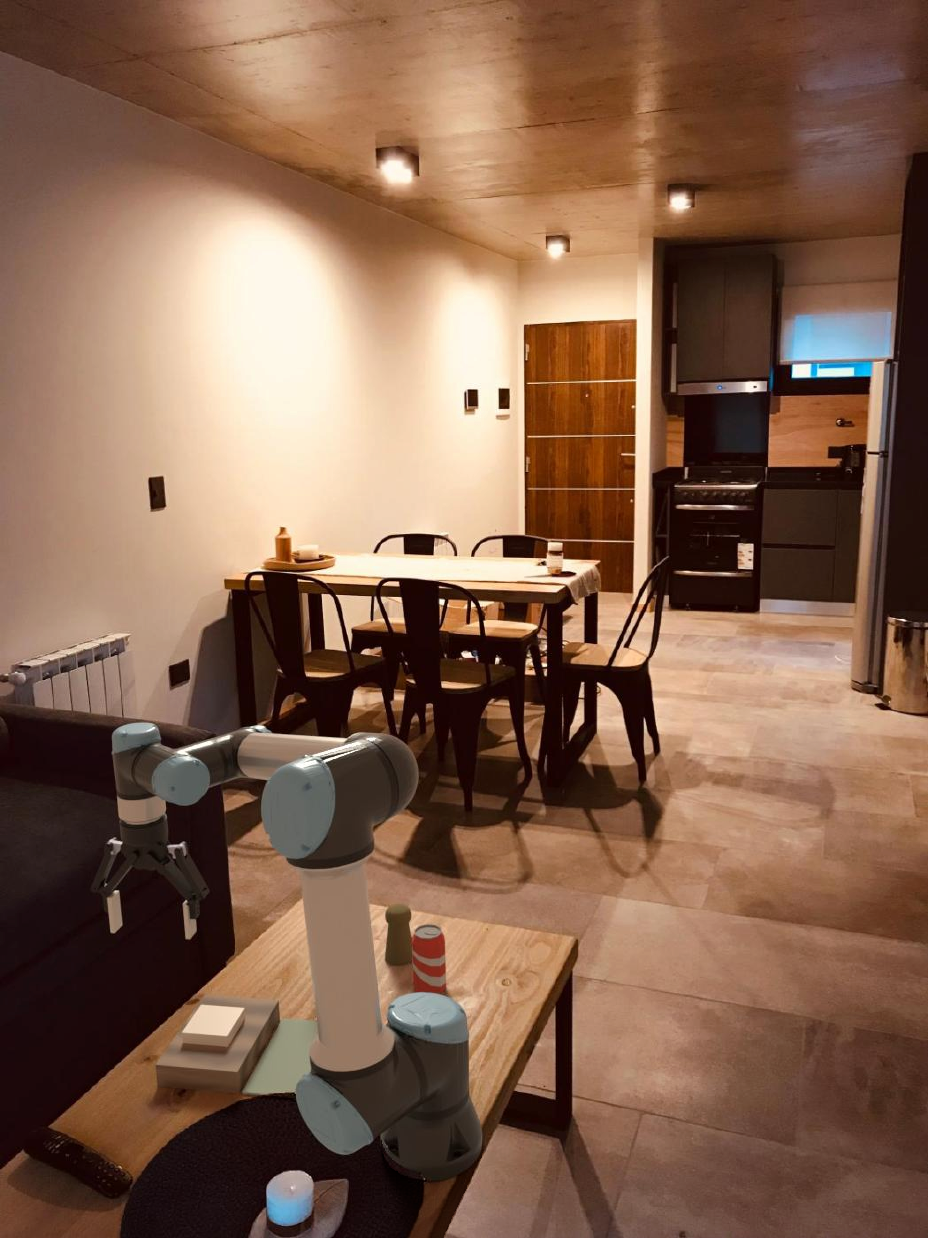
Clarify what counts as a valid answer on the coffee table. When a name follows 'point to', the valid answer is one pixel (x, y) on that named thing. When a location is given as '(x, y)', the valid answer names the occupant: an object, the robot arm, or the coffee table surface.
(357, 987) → the robot arm
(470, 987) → the coffee table surface
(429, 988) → the beverage can
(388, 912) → the pepper mill
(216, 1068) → the tan flat block
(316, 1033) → the mat
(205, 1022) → the coaster
